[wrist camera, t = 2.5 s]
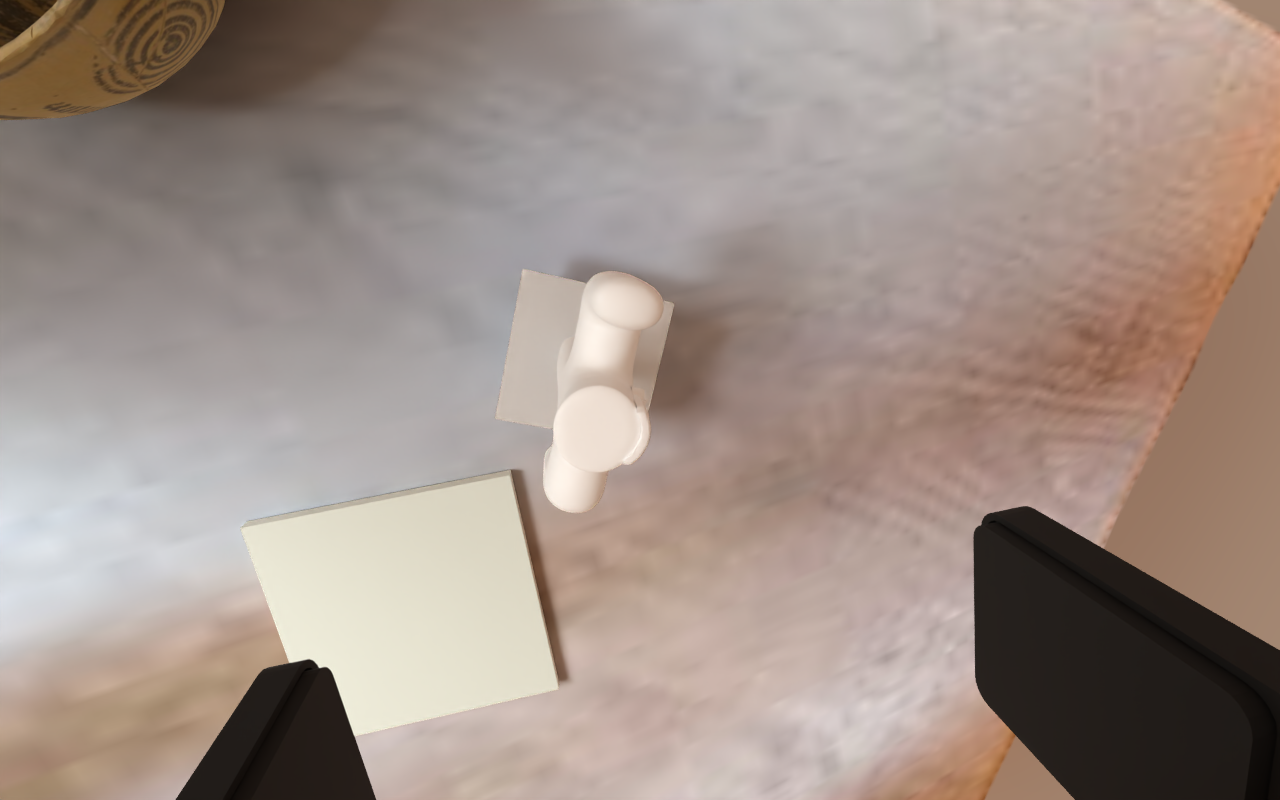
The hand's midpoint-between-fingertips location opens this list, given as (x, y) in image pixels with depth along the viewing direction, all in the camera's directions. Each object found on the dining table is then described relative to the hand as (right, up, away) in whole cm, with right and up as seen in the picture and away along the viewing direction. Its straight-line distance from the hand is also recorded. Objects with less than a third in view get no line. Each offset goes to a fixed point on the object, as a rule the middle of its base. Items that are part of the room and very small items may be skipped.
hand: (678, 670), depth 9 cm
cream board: (-13, -8, +27) cm, 31 cm away
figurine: (-4, +7, +25) cm, 26 cm away
